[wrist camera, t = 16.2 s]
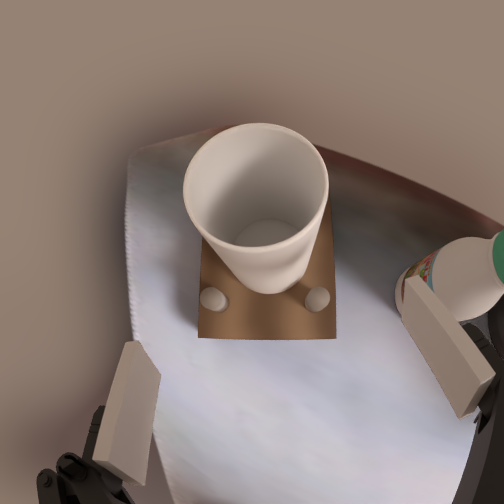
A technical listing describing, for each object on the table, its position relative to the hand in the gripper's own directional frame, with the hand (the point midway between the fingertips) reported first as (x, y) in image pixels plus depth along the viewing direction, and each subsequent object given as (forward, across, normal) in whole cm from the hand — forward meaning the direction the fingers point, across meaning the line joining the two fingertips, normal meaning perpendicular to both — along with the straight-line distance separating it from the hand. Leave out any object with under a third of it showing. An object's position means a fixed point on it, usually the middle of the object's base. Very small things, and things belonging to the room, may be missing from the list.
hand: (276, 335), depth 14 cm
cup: (+18, +1, -6) cm, 18 cm away
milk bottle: (+16, +18, -15) cm, 28 cm away
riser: (+21, 0, -9) cm, 23 cm away
